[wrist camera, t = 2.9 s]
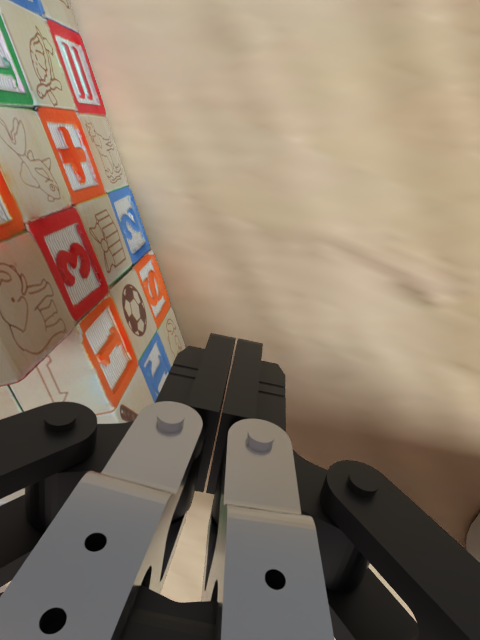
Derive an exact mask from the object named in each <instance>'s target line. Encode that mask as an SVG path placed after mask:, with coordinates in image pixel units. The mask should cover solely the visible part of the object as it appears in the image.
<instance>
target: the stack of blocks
mask: <svg viewBox="0 0 480 640" xmlns="http://www.w3.org/2000/svg"><path fill="white" fill-rule="evenodd" d="M105 115H106V112H105V108H104V105H103V102H102V98H101V95H100V92H99V89H98V86H97V83H96V80H95V77H94V74H93V71H92V68H91V66H90V62H89V59H88V56H87V53H86V50H85V47H84V44H83V41H82V39H81V36H80V34H79V31H78V25H77V22H76V19H75V16H74V13H73V10H72V7H71V4H70V1H69V0H0V420H1V419H4V418H7V417H10V416H13V415H16V414H18V413H21V412H24V411H27V410H30V409H33V408H36V407H39V406H42V405H45V404H49V403H54V402H75V403H79V404H82V405H85V406H87V407H88V408H90V409H91V410H92V411H93V412H94V413H95V415H96V417H97V424H114V423H126V422H130V421H134V420H135V419H136V417H137V416H138V414H139V413H140V412H141V410H142V409H144V408H145V407H146V406H148V405H150V404H153V403H155V401H156V399H157V397H158V395H159V393H160V391H161V388H162V386H163V384H164V382H165V380H166V378H167V375H168V374H169V371H170V369H171V367H172V366H173V362H174V360H175V358H176V356H177V354H178V353H179V352H181V351H182V350H184V349H185V348H186V347H185V344H184V341H183V338H182V335H181V332H180V329H179V327H178V324H177V321H176V318H175V315H174V312H173V309H172V308H171V306H170V300H169V297H168V293H167V290H166V287H165V285H164V282H163V278H162V275H161V272H160V269H159V266H158V264H157V261H156V258H155V254H154V252H153V251H152V250H151V249H150V245H149V242H148V238H147V236H146V233H145V230H144V227H143V224H142V221H141V218H140V215H139V212H138V209H137V206H136V203H135V200H134V197H133V194H132V191H131V189H130V188H129V186H128V182H127V178H126V175H125V172H124V169H123V166H122V163H121V160H120V157H119V154H118V152H117V149H116V146H115V143H114V140H113V137H112V134H111V131H110V128H109V125H108V122H107V120H106V116H105ZM24 494H25V488H24V489H21V490H19V491H17V492H15V493H13V494H10V495H8V496H6V497H4V498H2V499H0V506H1V505H3V504H5V503H7V502H10V501H12V500H14V499H16V498H18V497H20V496H22V495H24Z"/></svg>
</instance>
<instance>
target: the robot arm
mask: <svg viewBox="0 0 480 640" xmlns="http://www.w3.org/2000/svg"><path fill="white" fill-rule="evenodd" d="M235 339H236V338H233V337H228V336H223V335H218V334H213V333H211V334H210V337H209V340H208V343H207V346H206V348H205V349H202V348H197V347H192V346H188V347H187V348H185V349H184V350H182V351H181V352H179V353H178V354H177V356H176V358H175V360H174V362H173V366H172V367H171V369H170V371H169V374H168V375H167V378H166V380H165V382H164V384H163V386H162V388H161V391H160V393H159V395H158V397H157V399H156V401H155V403H153V404H150V405H148V406H146V407H145V408H144V409H142V410H141V412H140V413H139V414H138V416H137V417H136V419H135V420H134V421H130V422H126V423H114V424H97V417H96V415H95V413H94V412H93V411H92V410H91V409H90V408H88V407H87V406H85V405H82V404H79V403H75V402H54V403H49V404H45V405H42V406H39V407H36V408H33V409H30V410H27V411H24V412H21V413H18V414H16V415H13V416H10V417H7V418H4V419H1V420H0V499H2V498H4V497H6V496H8V495H10V494H13V493H15V492H17V491H19V490H21V489H24V488H25V494H24V495H22V496H20V497H18V498H16V499H14V500H12V501H10V502H7V503H5V504H3V505H1V506H0V587H1V586H3V585H5V584H6V583H8V582H10V581H11V580H12V581H11V582H10V584H9V585H8V587H7V588H6V590H5V591H4V592H2V593H0V640H334V637H335V639H336V640H480V513H479V515H478V516H477V517H476V519H475V520H474V521H473V523H472V524H471V526H470V529H469V531H468V533H467V538H466V550H465V549H464V548H463V547H462V546H461V545H460V544H459V543H458V542H457V541H456V540H454V539H453V538H452V537H451V536H450V535H449V534H448V533H447V532H446V531H445V530H443V529H442V528H441V527H440V526H439V525H438V524H437V523H436V522H435V521H434V520H432V519H431V518H430V517H429V516H428V515H427V514H426V513H425V512H424V511H423V510H421V509H420V508H419V507H418V506H417V505H416V504H415V503H414V502H413V501H412V500H410V499H409V498H408V497H407V496H406V495H405V494H404V493H403V492H402V491H401V490H399V489H398V488H397V487H396V486H395V485H394V484H393V483H392V482H391V481H389V480H388V479H387V478H386V477H385V476H384V475H383V474H381V473H380V472H379V471H377V470H376V469H374V468H373V467H371V466H369V465H366V464H364V463H361V462H357V461H350V460H345V461H339V462H336V463H334V464H333V465H332V466H330V468H329V469H328V471H327V470H325V469H323V468H321V467H319V466H316V465H314V464H312V463H310V462H308V461H306V460H305V459H303V458H302V457H301V456H299V455H298V454H297V453H296V452H295V451H294V450H293V449H292V443H291V440H290V438H289V436H288V435H287V433H286V417H285V374H284V373H283V371H282V370H281V368H280V367H279V365H278V364H275V363H270V362H266V361H261V357H262V346H263V344H262V343H258V342H253V341H248V340H243V339H238V341H237V345H236V350H235V355H234V360H233V364H232V369H231V374H230V379H229V383H228V388H227V393H226V398H225V402H224V407H223V412H222V417H221V422H220V427H219V432H218V437H217V442H216V447H215V451H214V456H213V461H212V466H211V471H210V476H209V481H208V486H207V491H206V493H210V494H215V495H214V500H213V505H212V511H211V515H210V520H209V525H208V534H207V545H206V555H205V566H204V576H203V586H202V597H201V602H187V603H179V602H175V601H172V600H170V599H168V598H166V597H164V596H162V595H160V593H161V590H162V587H163V584H164V581H165V579H166V576H167V573H168V570H169V567H170V564H171V561H172V558H173V555H174V552H175V549H176V546H177V543H178V541H179V538H180V535H181V532H182V529H183V526H184V523H185V520H186V515H187V511H188V510H189V508H190V506H191V503H192V499H193V495H194V491H200V492H204V487H205V482H206V478H207V473H208V468H209V464H210V459H211V455H212V450H213V445H214V441H215V436H216V432H217V427H218V422H219V418H220V413H221V408H222V404H223V399H224V394H225V389H226V384H227V379H228V374H229V369H230V364H231V359H232V354H233V349H234V344H235ZM370 563H371V565H372V566H373V567H374V568H375V569H376V570H377V571H378V572H379V574H380V575H381V576H382V577H383V578H384V579H385V580H386V581H387V583H388V584H389V585H390V586H391V587H392V588H393V589H394V590H395V592H396V593H397V594H398V595H399V596H400V597H401V598H402V600H403V601H404V602H405V603H406V604H407V605H408V607H409V608H410V609H411V611H412V612H413V614H414V616H415V618H416V621H417V623H416V621H415V620H414V619H413V618H412V617H411V616H410V615H409V613H408V612H407V611H406V610H405V609H404V608H403V606H402V605H401V604H400V603H399V602H398V601H397V600H396V598H395V597H394V596H393V595H392V594H391V593H390V592H389V590H388V589H387V588H386V587H385V586H384V585H383V584H382V582H381V581H380V580H379V579H378V578H377V577H376V576H375V574H374V573H373V572H372V571H371V570H370V569H369V568H368V566H369V564H370Z"/></svg>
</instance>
